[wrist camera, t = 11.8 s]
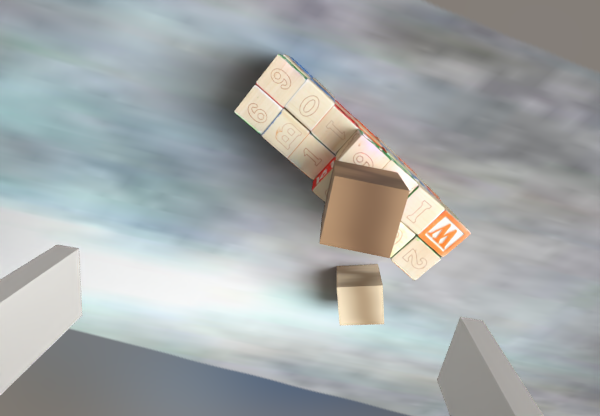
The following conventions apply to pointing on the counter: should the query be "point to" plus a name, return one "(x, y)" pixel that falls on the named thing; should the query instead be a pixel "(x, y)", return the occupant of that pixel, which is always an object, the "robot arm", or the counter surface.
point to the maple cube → (360, 295)
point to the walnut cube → (363, 209)
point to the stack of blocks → (345, 156)
